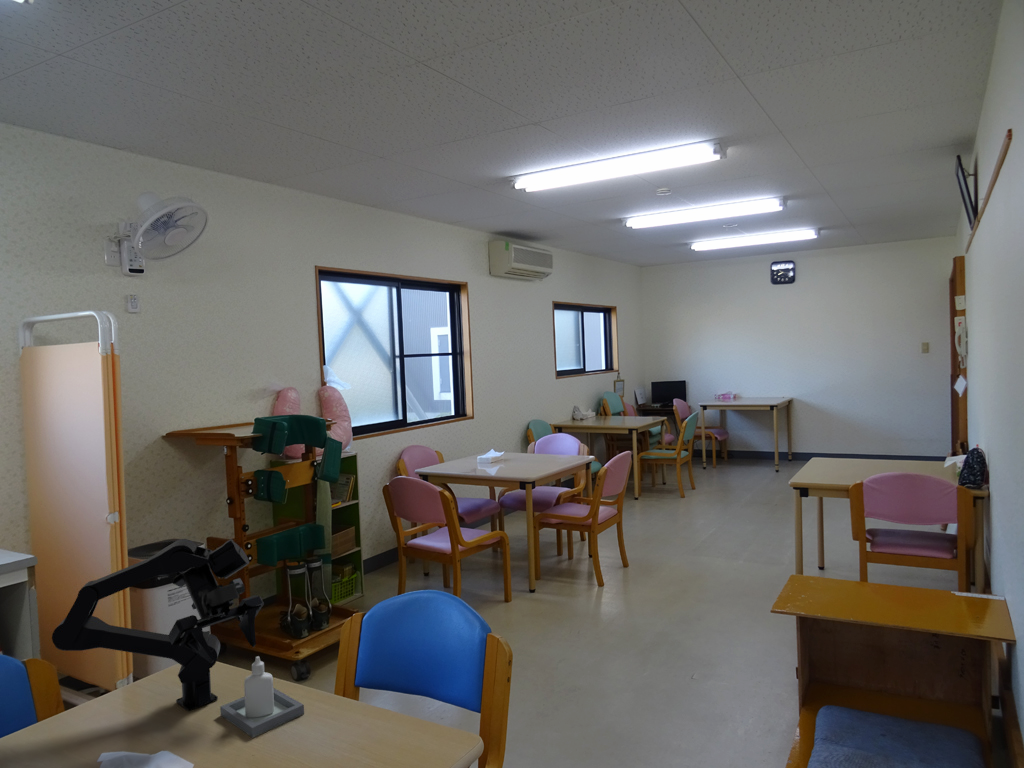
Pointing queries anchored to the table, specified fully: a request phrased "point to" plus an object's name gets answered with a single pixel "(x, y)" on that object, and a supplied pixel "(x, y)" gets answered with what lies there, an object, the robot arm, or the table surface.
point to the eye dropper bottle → (258, 692)
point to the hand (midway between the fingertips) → (234, 653)
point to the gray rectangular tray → (282, 713)
